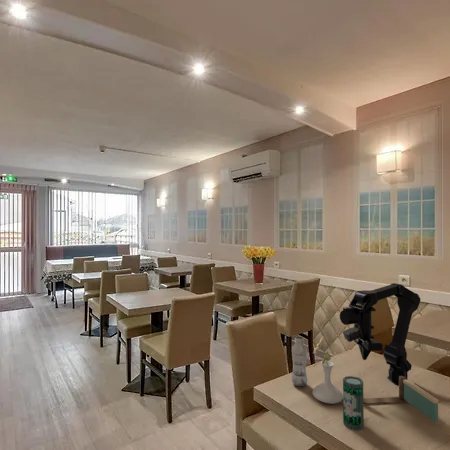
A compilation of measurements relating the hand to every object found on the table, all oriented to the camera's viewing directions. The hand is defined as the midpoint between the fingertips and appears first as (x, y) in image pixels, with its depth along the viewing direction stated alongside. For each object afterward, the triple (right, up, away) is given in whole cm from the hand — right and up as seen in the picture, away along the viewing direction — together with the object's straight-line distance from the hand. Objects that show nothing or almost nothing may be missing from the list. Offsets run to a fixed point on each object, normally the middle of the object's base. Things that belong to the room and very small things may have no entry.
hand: (364, 359), depth 132 cm
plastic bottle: (-26, -12, +3) cm, 29 cm away
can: (-14, -12, -24) cm, 31 cm away
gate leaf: (+12, -10, -18) cm, 24 cm away
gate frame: (+2, -12, -10) cm, 16 cm away
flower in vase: (-18, -12, -8) cm, 24 cm away
